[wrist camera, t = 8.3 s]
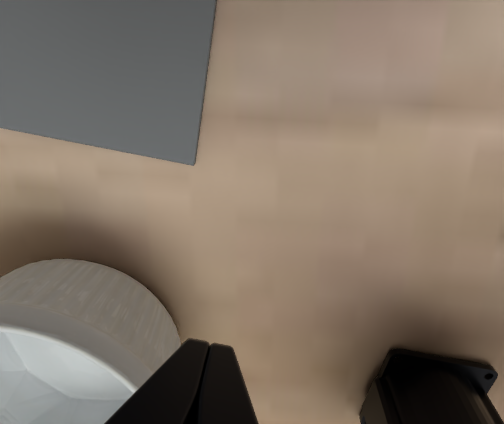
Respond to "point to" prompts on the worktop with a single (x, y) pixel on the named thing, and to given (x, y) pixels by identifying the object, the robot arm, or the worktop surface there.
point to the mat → (107, 72)
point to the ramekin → (76, 341)
